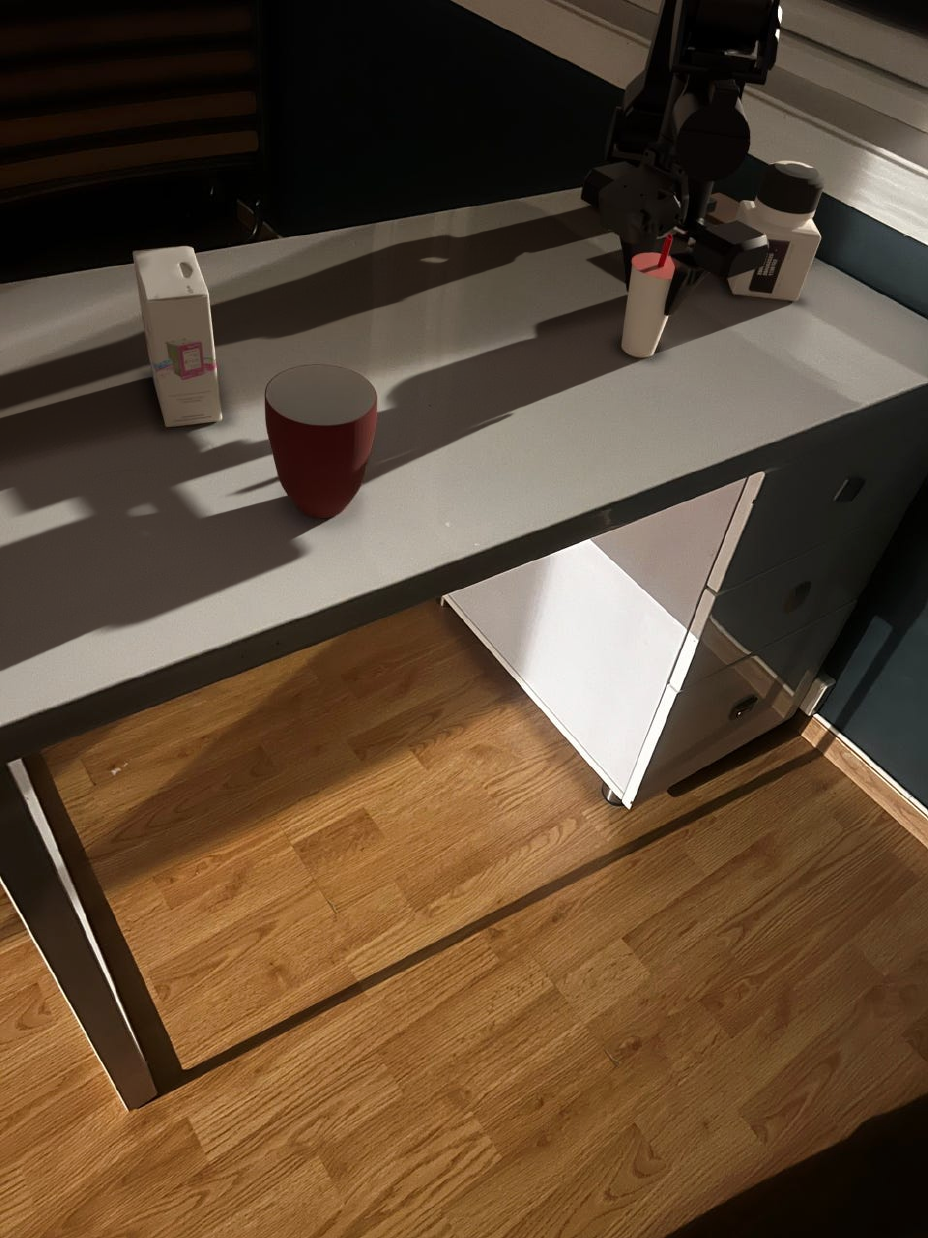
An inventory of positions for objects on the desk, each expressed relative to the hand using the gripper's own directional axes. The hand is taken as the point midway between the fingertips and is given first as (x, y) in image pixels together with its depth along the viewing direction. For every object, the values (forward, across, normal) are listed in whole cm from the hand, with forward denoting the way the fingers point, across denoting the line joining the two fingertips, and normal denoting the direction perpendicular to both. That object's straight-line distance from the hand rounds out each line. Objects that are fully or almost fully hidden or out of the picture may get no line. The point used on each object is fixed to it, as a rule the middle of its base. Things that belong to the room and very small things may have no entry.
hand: (649, 302), depth 96 cm
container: (+5, -4, +24) cm, 25 cm away
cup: (+5, 0, 0) cm, 5 cm away
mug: (+5, +3, -41) cm, 41 cm away
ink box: (+5, -14, -43) cm, 45 cm away
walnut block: (+5, -14, +28) cm, 32 cm away
